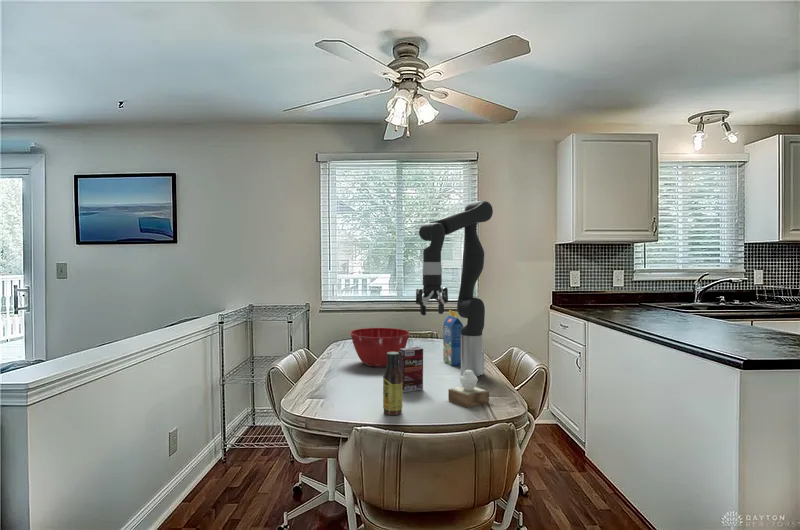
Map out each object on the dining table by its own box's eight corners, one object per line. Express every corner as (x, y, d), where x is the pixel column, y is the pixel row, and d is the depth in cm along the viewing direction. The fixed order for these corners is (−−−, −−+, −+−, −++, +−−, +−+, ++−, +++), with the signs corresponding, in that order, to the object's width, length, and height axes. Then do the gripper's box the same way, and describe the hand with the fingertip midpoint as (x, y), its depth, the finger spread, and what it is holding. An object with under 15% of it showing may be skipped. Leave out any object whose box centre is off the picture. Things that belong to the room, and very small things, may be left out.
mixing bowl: (420, 361, 240) (420, 330, 239) (388, 373, 216) (388, 338, 215) (373, 355, 255) (373, 326, 255) (337, 366, 231) (337, 333, 231)
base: (469, 396, 180) (469, 384, 180) (489, 402, 172) (489, 390, 172) (448, 400, 175) (448, 388, 175) (467, 407, 167) (467, 394, 167)
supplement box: (403, 392, 185) (403, 350, 185) (398, 389, 189) (397, 348, 189) (423, 390, 189) (423, 348, 189) (417, 387, 193) (417, 346, 193)
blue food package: (451, 366, 230) (451, 312, 230) (443, 360, 242) (443, 310, 242) (463, 365, 232) (463, 312, 231) (455, 360, 243) (455, 309, 243)
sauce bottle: (382, 410, 164) (382, 350, 164) (401, 409, 164) (401, 350, 164) (383, 416, 157) (383, 354, 157) (403, 416, 158) (403, 354, 158)
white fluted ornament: (457, 387, 176) (457, 368, 176) (473, 386, 177) (473, 367, 177) (463, 392, 170) (463, 371, 170) (480, 391, 171) (480, 370, 171)
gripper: (440, 272, 202) (440, 312, 203) (411, 273, 195) (412, 314, 195) (452, 273, 196) (452, 314, 196) (423, 274, 188) (423, 316, 189)
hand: (432, 314), depth 196 cm, fingers open, 8 cm apart
